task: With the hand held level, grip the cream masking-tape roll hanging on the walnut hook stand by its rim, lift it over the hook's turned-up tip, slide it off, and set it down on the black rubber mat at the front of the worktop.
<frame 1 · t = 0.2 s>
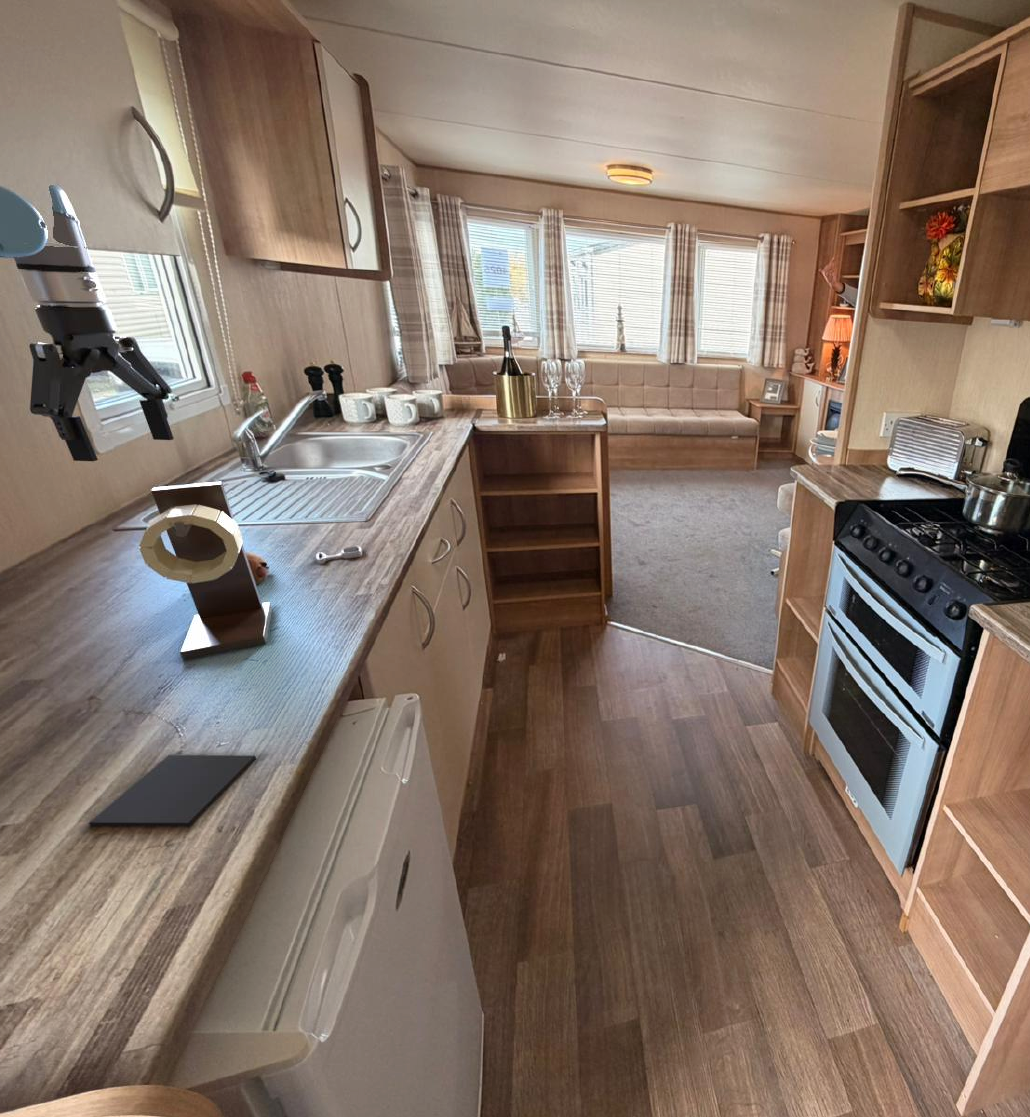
hand: (127, 449, 94), 27 cm above the counter, tool pointing down, fingers open, 13 cm apart
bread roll: (237, 582, 112), on the counter
hook stand: (231, 634, 96), on the counter
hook: (340, 558, 123), on the counter
mat: (179, 790, 67), on the counter
tape roll: (205, 575, 90), point 12 cm above the counter, touching hook stand
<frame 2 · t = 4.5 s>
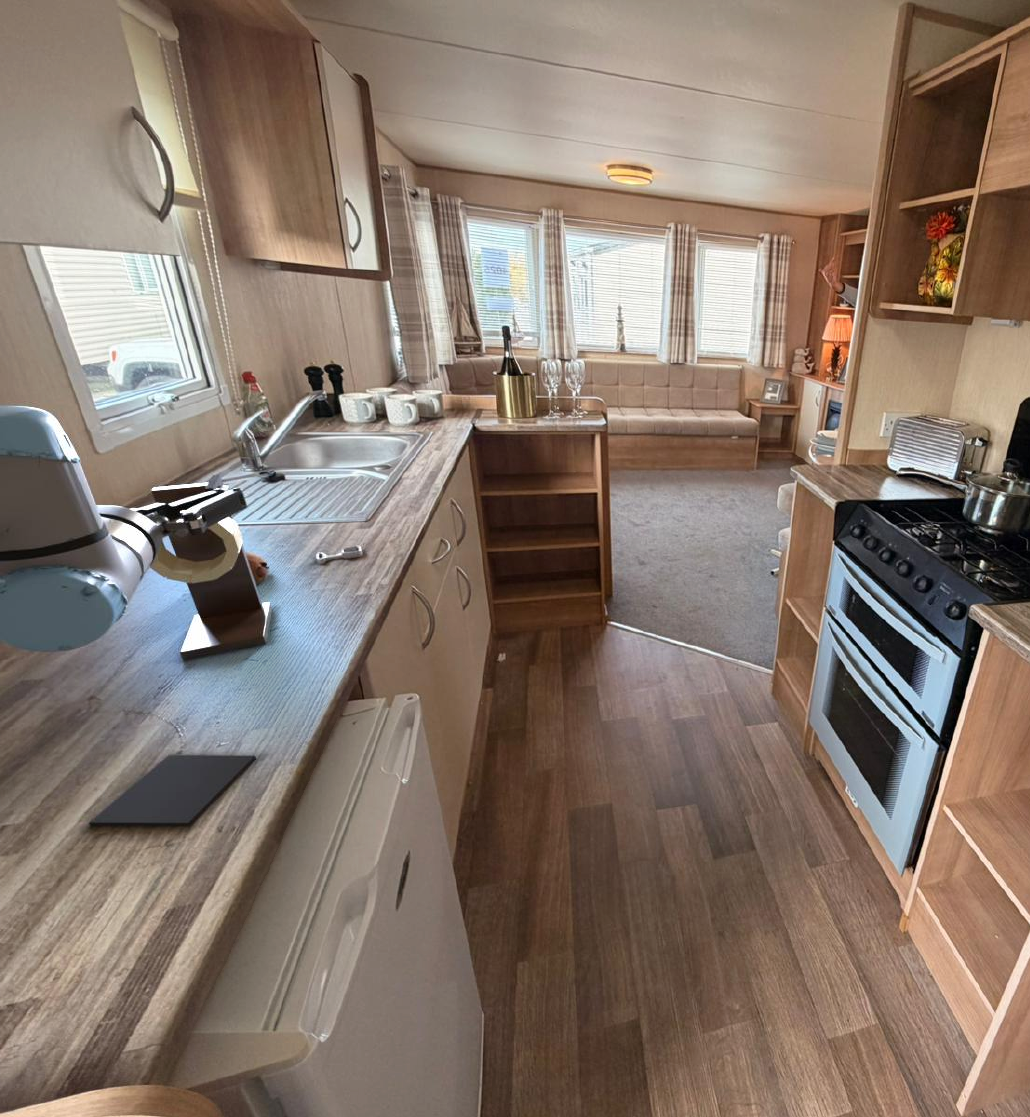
hand: (151, 491, 76), 28 cm above the counter, tool horizontal, fingers open, 13 cm apart
nothing on the counter moved.
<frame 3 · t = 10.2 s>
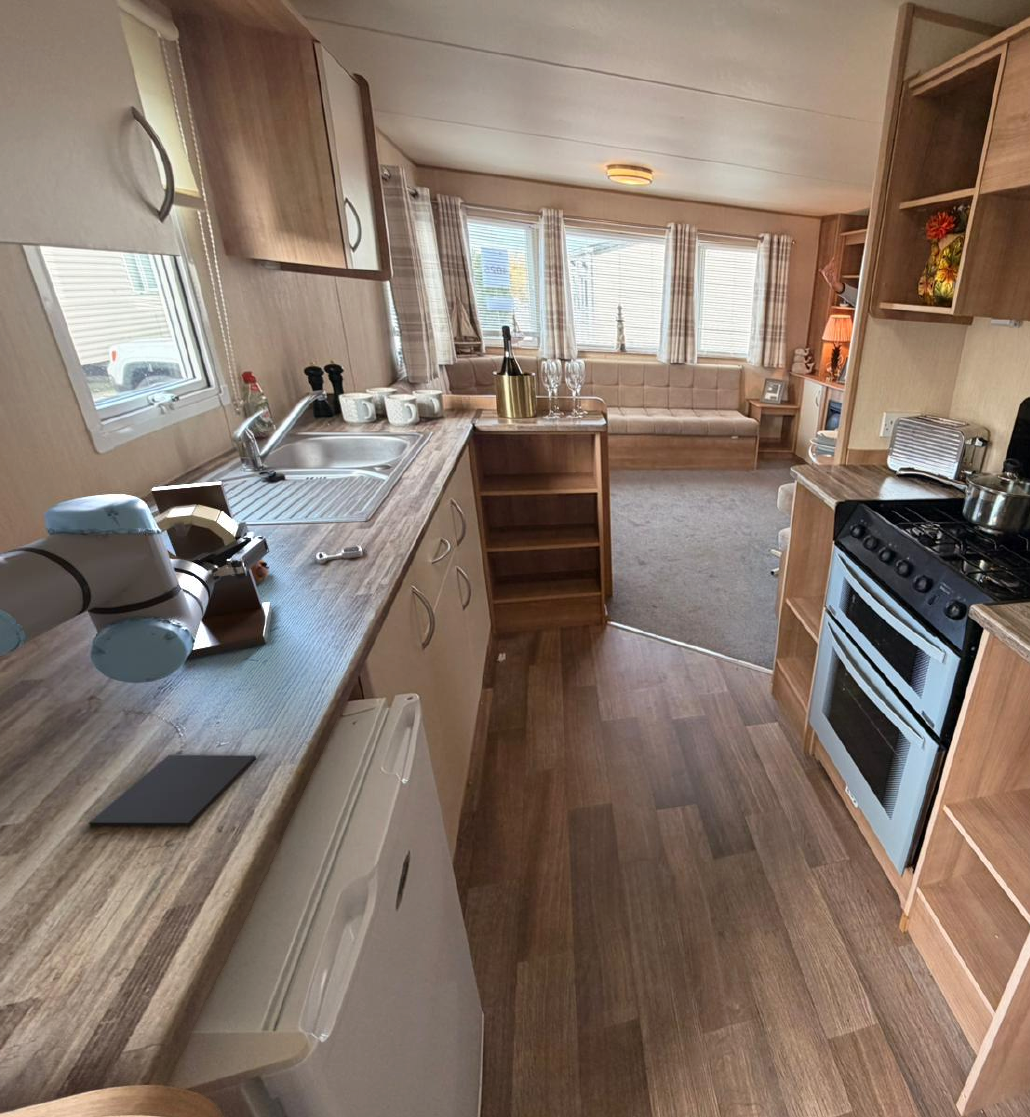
hand: (199, 536, 91), 16 cm above the counter, tool horizontal, fingers closed on tape roll, 10 cm apart
tape roll: (205, 575, 90), point 12 cm above the counter, touching gripper
everything else where it was.
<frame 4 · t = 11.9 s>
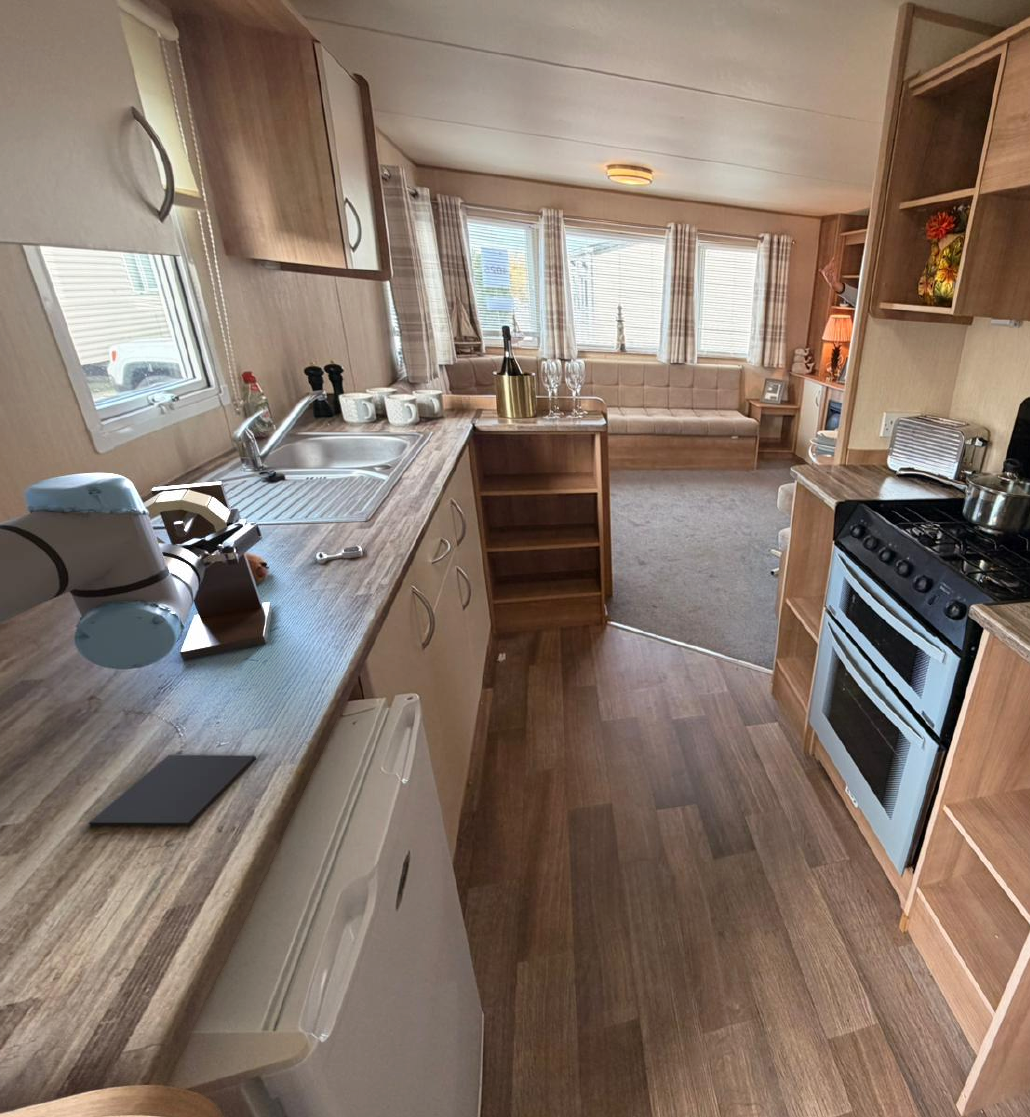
hand: (189, 522, 88), 19 cm above the counter, tool horizontal, fingers closed on tape roll, 10 cm apart
tape roll: (196, 562, 87), point 14 cm above the counter, touching gripper
everything else where it was.
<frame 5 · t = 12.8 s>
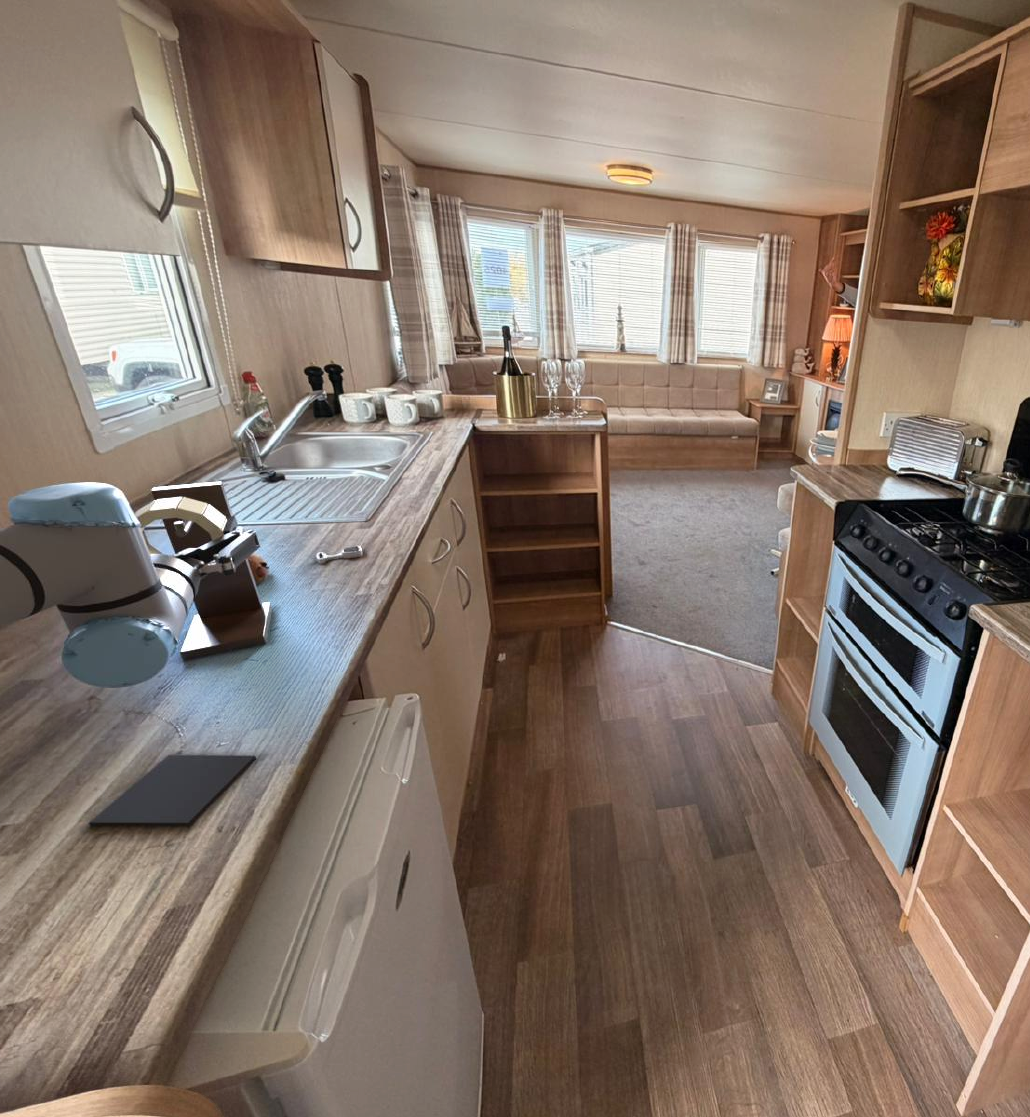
hand: (185, 530, 85), 19 cm above the counter, tool horizontal, fingers closed on tape roll, 10 cm apart
tape roll: (192, 572, 84), point 14 cm above the counter, touching gripper
everything else where it was.
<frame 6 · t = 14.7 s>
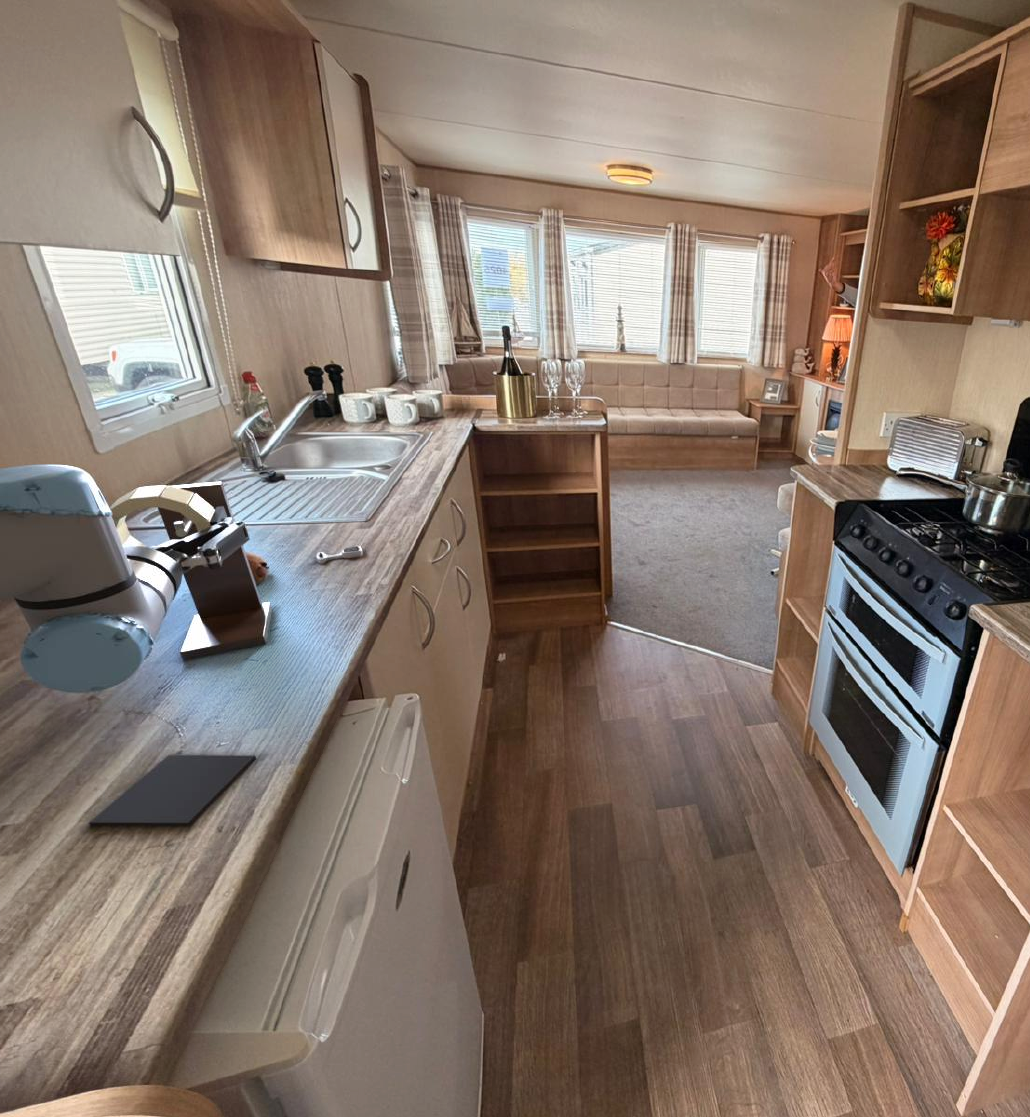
hand: (170, 521, 80), 23 cm above the counter, tool horizontal, fingers closed on tape roll, 10 cm apart
tape roll: (176, 566, 79), point 18 cm above the counter, touching gripper
everything else where it was.
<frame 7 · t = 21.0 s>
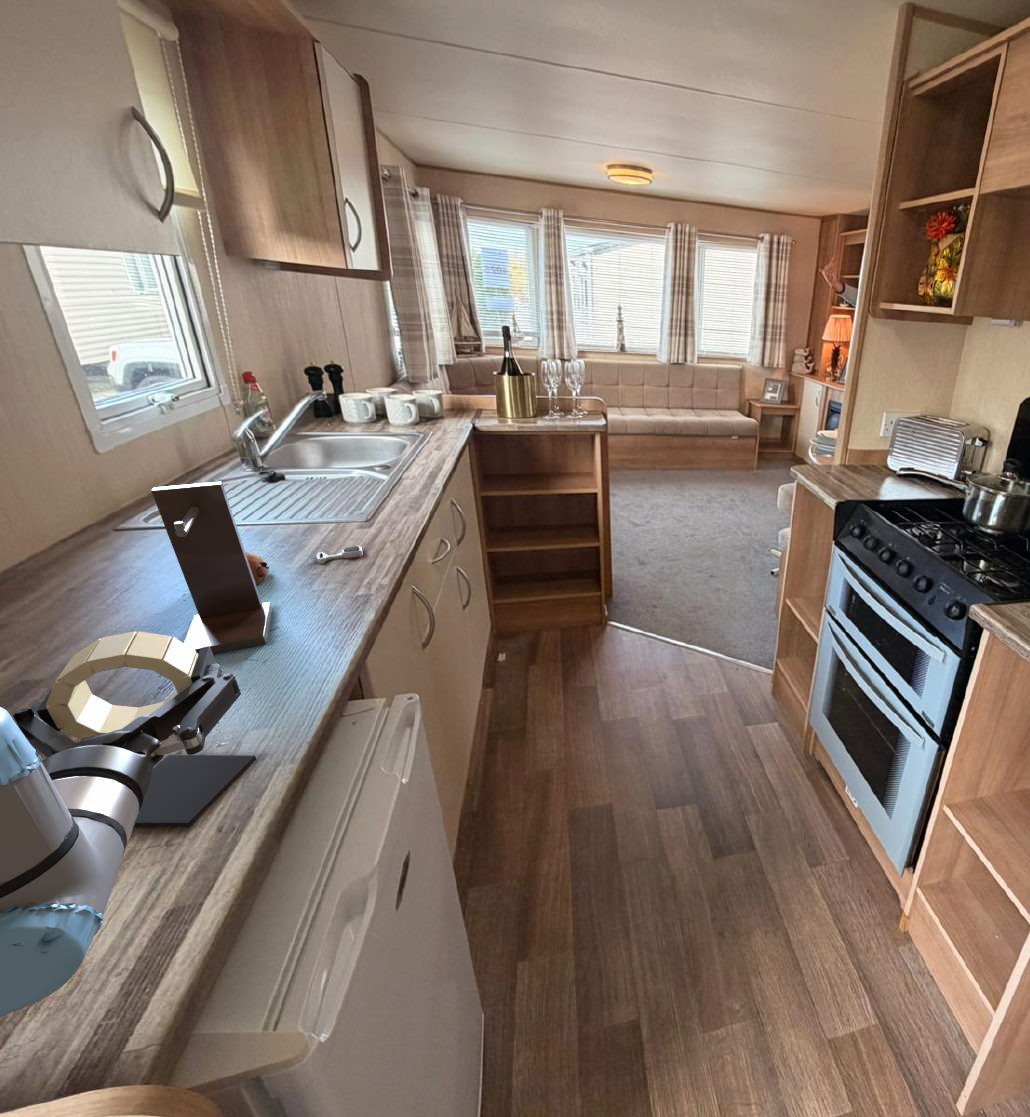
hand: (143, 670, 64), 14 cm above the counter, tool horizontal, fingers closed on tape roll, 10 cm apart
tape roll: (150, 727, 63), point 9 cm above the counter, touching gripper
everything else where it was.
when the fingers open (5 cm above the counter, at t = 23.6 s): tape roll stays where it is, resting on mat.
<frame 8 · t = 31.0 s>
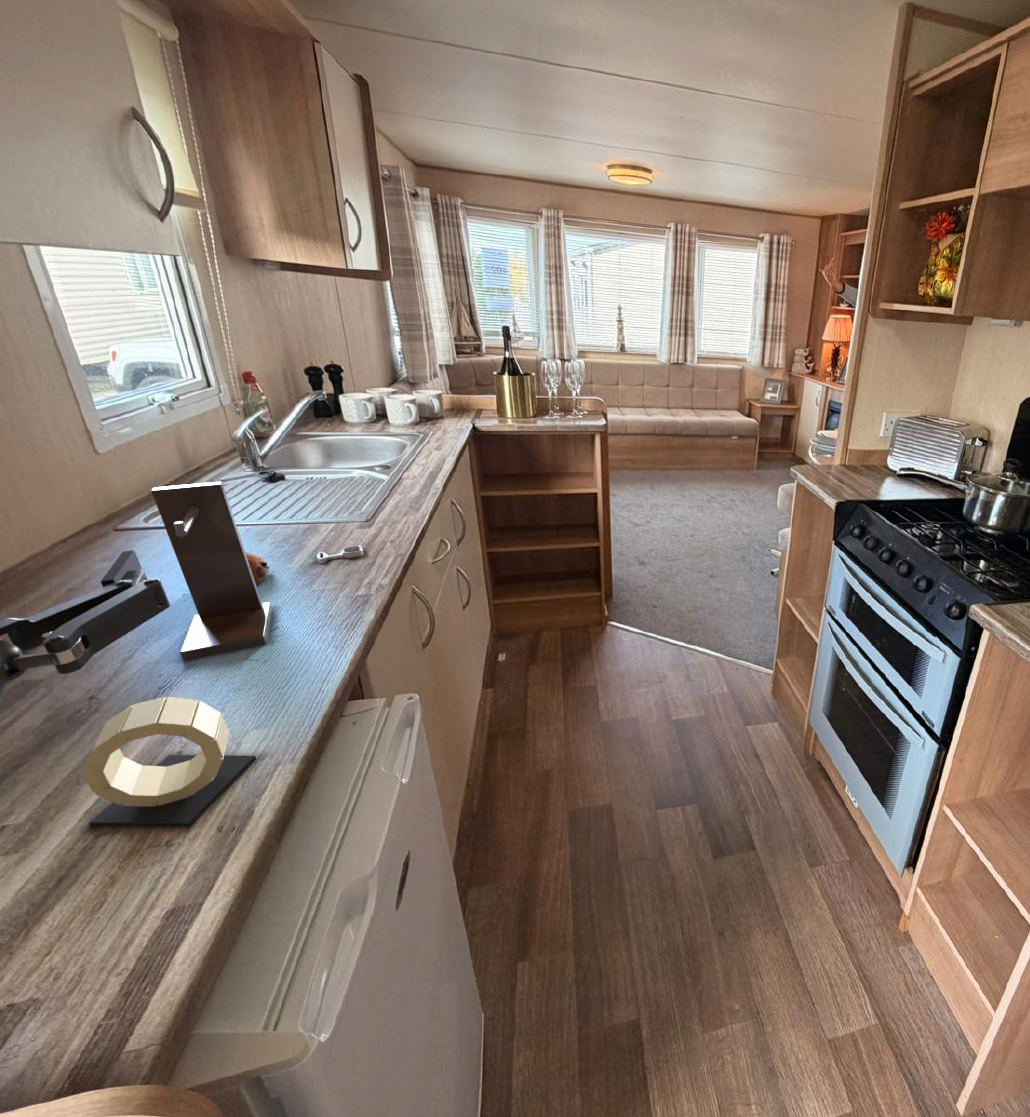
hand: (23, 579, 49), 30 cm above the counter, tool horizontal, fingers open, 13 cm apart
tape roll: (178, 786, 67), point 1 cm above the counter, touching mat
everything else where it was.
at the end: tape roll inside the target area on the mat (0.0 cm from its centre), point 0.6 cm above the mat's base; the gripper is holding nothing; tape roll touching mat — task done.
